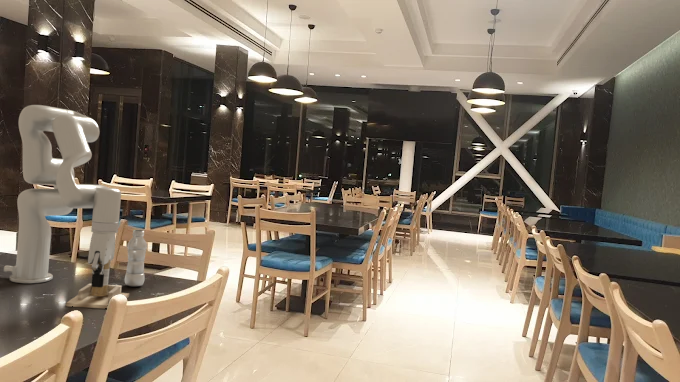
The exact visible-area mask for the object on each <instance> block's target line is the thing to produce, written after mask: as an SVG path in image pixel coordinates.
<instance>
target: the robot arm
mask: <svg viewBox="0 0 680 382" xmlns="http://www.w3.org/2000/svg"><path fill="white" fill-rule="evenodd" d="M18 129H19V134H20V137H21V142H22V175H23V179H24V181H25V182H26V183H28V184H30V185H40V186H41V185H45V186H53V188H28V189H25V190H23V191H21V192H20V193H19V194H18V197H17V200H16V201H17V202H16V203H17V210H18V237H17V250H16V263H15V265H14V266H13V265H5V266H3V272H4V273H11V275H10V276H9V281H10V282H13V283H19V284H40V283H45V282H49V281H51V280H53V277H54V276H53V274H52V273H50V272H49V266H50V265H49V264H50V263H49V262H50V254H51V252H50V251H51V239H52V226H51V225H50V222H49V221H48V219H47V218H46V217H49V216H52V217H53V216H65V215H68V214H70V213H72V211H73V210H74V209H93V210H92V217H91V218H92V219H91V230H90V231H91V233H92V234H91V238H90V243H89V248H88V250H89V251H88V257H87V263H88V265H91V269H92V272H91V275H92V277H91V284H92V287H103V281H104V274H103V270H104V265H105V264H107V263H108V262H109V260H110V262H111V261H113V260H114V258H115V251H116V234H118V233H119V224H120V211H121V202H122V201H121V200H122V199H121V198H122V191H121V190H120V189H118V188H114V187H108V186H106V185H101V184H89V183H88V184H86V183H85V184H84V183H81V184H80V183H76V181H75V169H74V168H77V167H80V166H82V165H84V164H86V163H88V162H89V161H90V160H91V159H92V155H93V154H92V151H91V149H90V148H91V147H90V145H89V143H94V142H96V141H97V140H98V139H99V136H100V127H99V125H98V123H97V121H95V120H94V119H93V118H92V117H90V116H87V115H84V114H82V113H79V112H77V111H75V110H71V109H66V108H60V107H54V106H49V105H42V104H31V105H26V106H25V107H23V109H22V110H21V111H20V113H19V117H18ZM44 132H51V133H53V135H54V138H55V140H56V145H57V146H58V149H59V151H60V155H61V157H62V158H55V157H53V154H52V153H53V152H52V151H53V149H52V143H51V141H50V139H49V137H48V136H47V134H45V133H44ZM110 255H111V259H109V258H110ZM99 262H102V263H101V264H98V263H99ZM98 266H101V270H100V267H98ZM110 270H111V264H110V265H109V275H110V272H111V271H110ZM109 281H110V278H109V279H108V283H109Z"/></svg>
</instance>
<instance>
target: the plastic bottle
mask: <svg viewBox="0 0 680 382" xmlns="http://www.w3.org/2000/svg"><path fill="white" fill-rule="evenodd" d="M131 235H132V237H131V238H130V239H129V241H128V243H127V266H126V273H125V274H124V284H125V285H126V286H128V287H134V288H135V287H141V286H143V285H144V282H145V278H146V277H145V259H146V252H147V249H148V243H147V241H146V239H145V238H144V236H145V230H143V229H133V231H132V234H131Z"/></svg>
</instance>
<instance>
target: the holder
mask: <svg viewBox="0 0 680 382" xmlns="http://www.w3.org/2000/svg"><path fill="white" fill-rule="evenodd" d="M122 287H123V286H122V285H119V284H108V287H107V295H104V296H94V295H92V288H93V287H92V283H88V284H86V285H84V286H83V287H82V288H80V289H79V290H78V292H77V293H78V294H77V295H76V296H75V297H73V298H71V299H69V300H68V301H67V302H66V303H65V307H70V308H71V307H72V306H73V308H88V309H89V308H92V309H105V308H107V305H108V302H109V300H110V298H111V297H113V296H114V295H117V294H123V295H125V296H126V297H127V299H128V298H129V297H130V293H129V292H128V293H127V292H122Z"/></svg>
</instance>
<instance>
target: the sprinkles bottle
mask: <svg viewBox="0 0 680 382" xmlns="http://www.w3.org/2000/svg"><path fill="white" fill-rule="evenodd" d="M109 259H111V255H110V258H109ZM101 263H102V262H99V263H98V264H101ZM109 265H110V266H111V261H110V260H109V262H108V263H107V264H105V265H104V270H103V274H104V281H103V287H93V288H92V295H94V296H104V295H107V287H108V285H109V282H108V279H109V280H110V274H109V271H110V270H109ZM98 267H100V270H101V266H98Z"/></svg>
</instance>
